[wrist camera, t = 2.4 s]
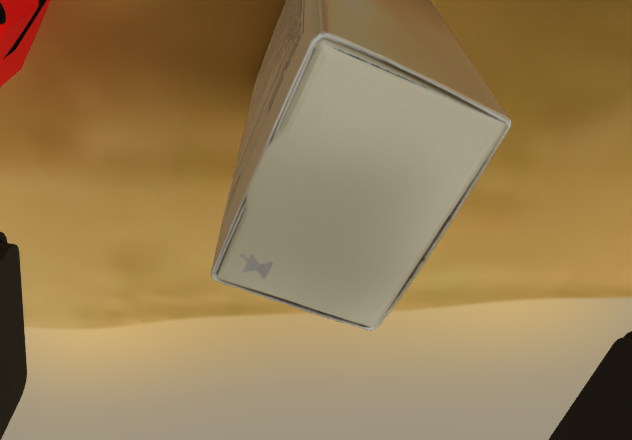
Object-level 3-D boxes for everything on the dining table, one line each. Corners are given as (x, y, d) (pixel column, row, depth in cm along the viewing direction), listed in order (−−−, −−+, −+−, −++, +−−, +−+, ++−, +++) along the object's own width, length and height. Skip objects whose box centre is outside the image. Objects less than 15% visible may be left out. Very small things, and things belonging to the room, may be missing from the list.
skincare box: (350, 127, 25) (372, 347, 15) (250, 86, 24) (199, 291, 14) (428, -25, 21) (527, 124, 11) (316, -79, 20) (314, 30, 10)
